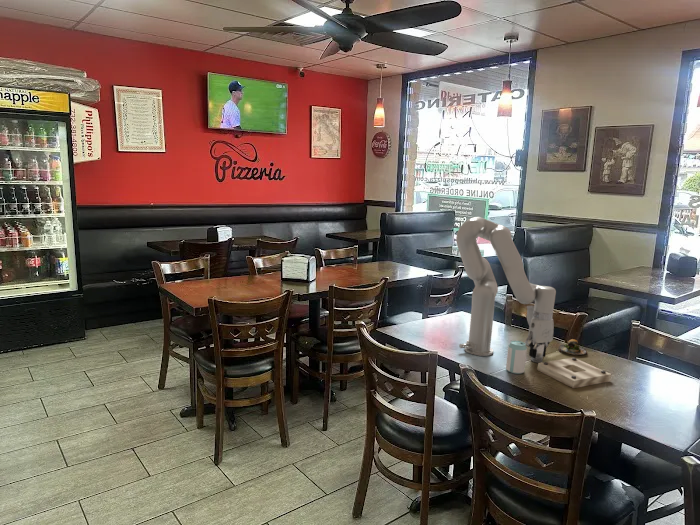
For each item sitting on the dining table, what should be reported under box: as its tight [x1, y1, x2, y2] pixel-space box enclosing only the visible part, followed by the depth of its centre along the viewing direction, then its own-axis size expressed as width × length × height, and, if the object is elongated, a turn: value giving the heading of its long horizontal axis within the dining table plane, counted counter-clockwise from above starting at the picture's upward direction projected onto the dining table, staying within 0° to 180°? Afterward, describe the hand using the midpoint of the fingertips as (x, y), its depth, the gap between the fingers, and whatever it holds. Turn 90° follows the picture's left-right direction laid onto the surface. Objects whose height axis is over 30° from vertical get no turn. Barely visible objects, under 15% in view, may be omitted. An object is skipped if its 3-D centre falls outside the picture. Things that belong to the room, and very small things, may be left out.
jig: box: [536, 357, 612, 389], centre depth 194 cm, size 20×18×4 cm
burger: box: [558, 335, 588, 356], centre depth 221 cm, size 12×12×8 cm
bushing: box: [530, 342, 545, 364], centre depth 207 cm, size 5×5×8 cm
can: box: [505, 340, 528, 375], centre depth 195 cm, size 7×7×12 cm
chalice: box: [524, 305, 535, 347], centre depth 228 cm, size 7×7×18 cm
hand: (537, 355), depth 208 cm, fingers closed on bushing, 4 cm apart
